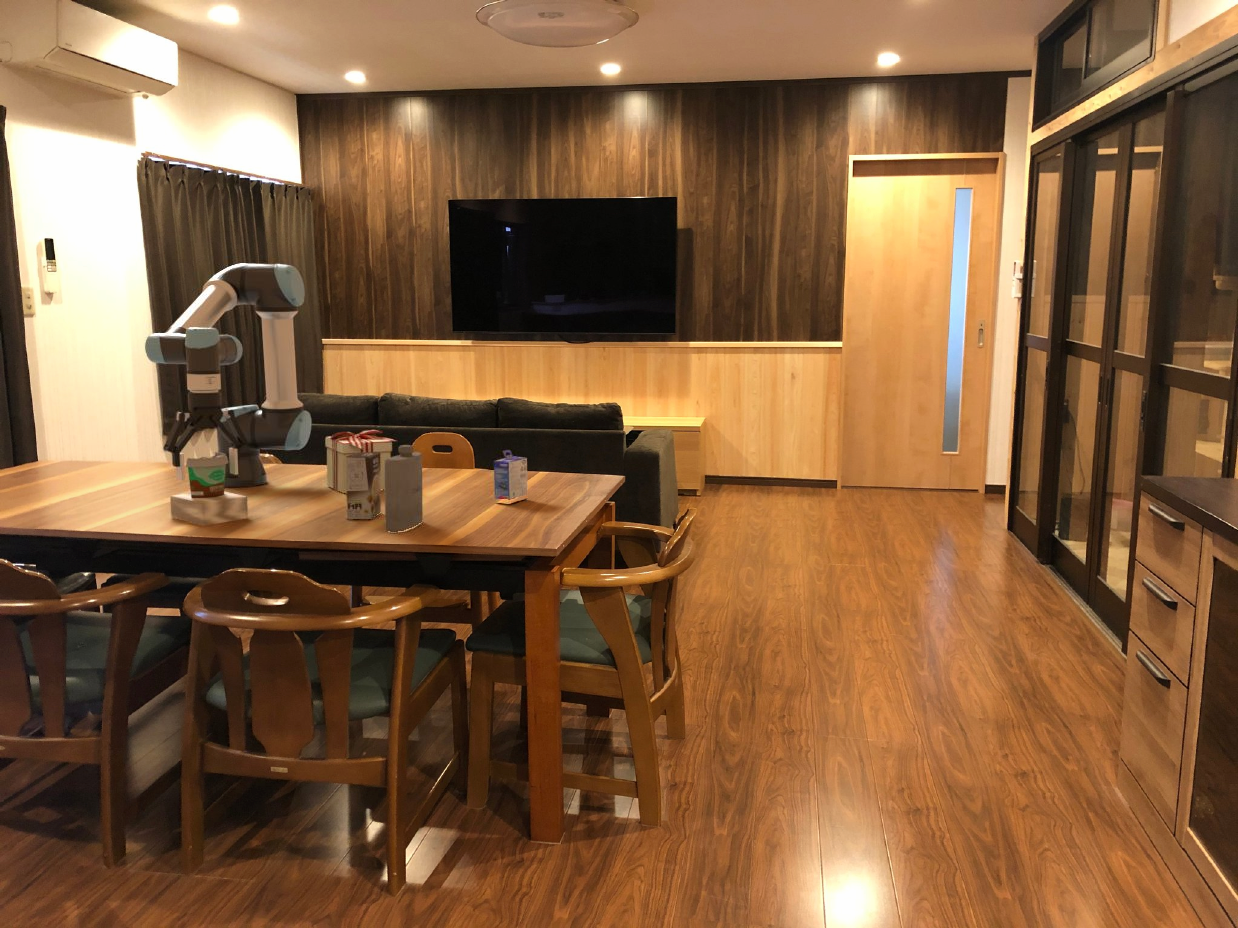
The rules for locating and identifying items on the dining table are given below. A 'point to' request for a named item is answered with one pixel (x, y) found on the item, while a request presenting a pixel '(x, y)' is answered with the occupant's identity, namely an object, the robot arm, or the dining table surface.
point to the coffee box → (363, 485)
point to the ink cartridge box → (510, 477)
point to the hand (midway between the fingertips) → (208, 476)
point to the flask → (403, 490)
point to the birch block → (209, 508)
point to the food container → (207, 475)
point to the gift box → (349, 445)
